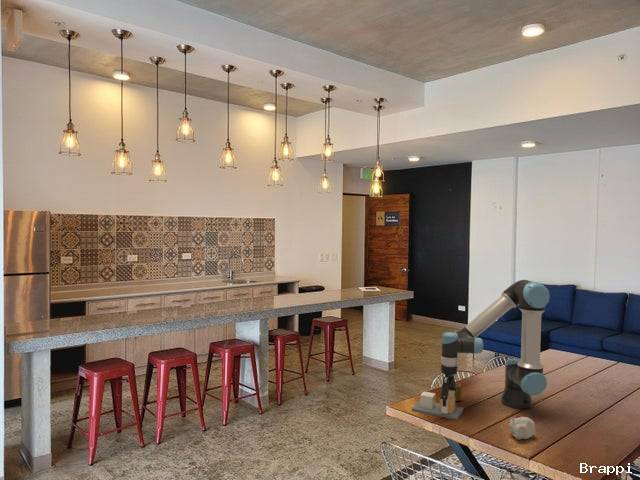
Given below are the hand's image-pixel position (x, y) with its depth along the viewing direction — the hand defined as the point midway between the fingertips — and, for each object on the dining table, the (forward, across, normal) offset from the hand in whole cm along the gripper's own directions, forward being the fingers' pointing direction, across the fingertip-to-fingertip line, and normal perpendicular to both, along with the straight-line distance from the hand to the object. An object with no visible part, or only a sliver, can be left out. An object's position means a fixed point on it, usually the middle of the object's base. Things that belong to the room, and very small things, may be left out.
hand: (447, 408), depth 233 cm
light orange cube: (+1, 0, 0) cm, 1 cm away
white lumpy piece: (+2, +10, +34) cm, 36 cm away
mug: (+2, -21, -3) cm, 21 cm away
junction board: (+2, 0, -5) cm, 5 cm away
